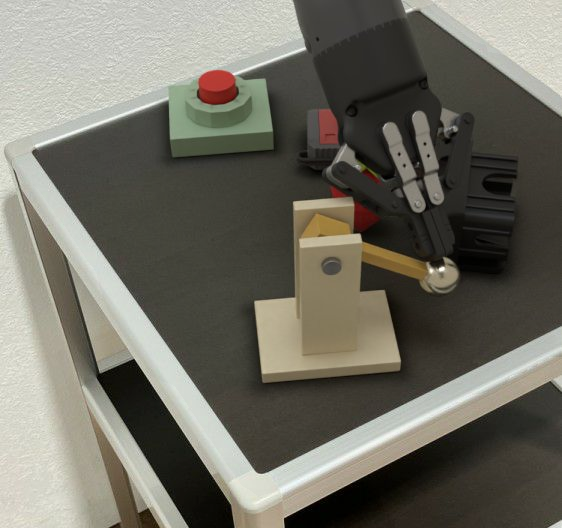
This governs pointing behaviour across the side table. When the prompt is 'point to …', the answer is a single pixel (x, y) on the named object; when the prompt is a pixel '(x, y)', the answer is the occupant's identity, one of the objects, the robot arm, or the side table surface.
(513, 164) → the end cap
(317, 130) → the walkie-talkie
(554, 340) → the side table surface
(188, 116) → the button box
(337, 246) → the bracket
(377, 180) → the strawberry
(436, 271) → the lever
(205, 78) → the button
